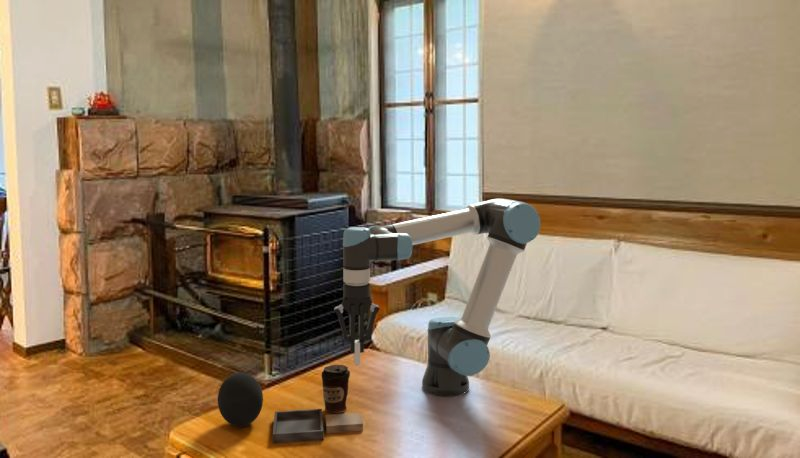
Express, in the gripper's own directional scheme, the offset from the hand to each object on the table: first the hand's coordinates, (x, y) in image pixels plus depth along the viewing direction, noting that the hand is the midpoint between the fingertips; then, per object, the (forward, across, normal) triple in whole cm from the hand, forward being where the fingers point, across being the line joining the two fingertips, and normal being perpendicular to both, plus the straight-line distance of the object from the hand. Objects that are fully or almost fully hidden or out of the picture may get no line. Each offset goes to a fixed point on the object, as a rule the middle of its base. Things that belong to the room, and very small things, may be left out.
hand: (356, 363), depth 186 cm
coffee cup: (+17, +5, -7) cm, 19 cm away
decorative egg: (+17, +33, -2) cm, 37 cm away
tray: (+17, +17, +4) cm, 24 cm away
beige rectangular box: (+17, +4, +4) cm, 18 cm away
